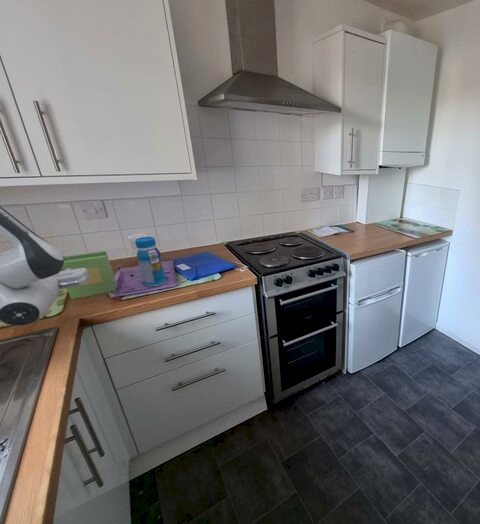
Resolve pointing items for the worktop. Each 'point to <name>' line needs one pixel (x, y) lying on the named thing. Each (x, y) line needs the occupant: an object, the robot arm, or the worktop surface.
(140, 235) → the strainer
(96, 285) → the green square panel
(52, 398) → the worktop surface
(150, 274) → the beverage bottle
